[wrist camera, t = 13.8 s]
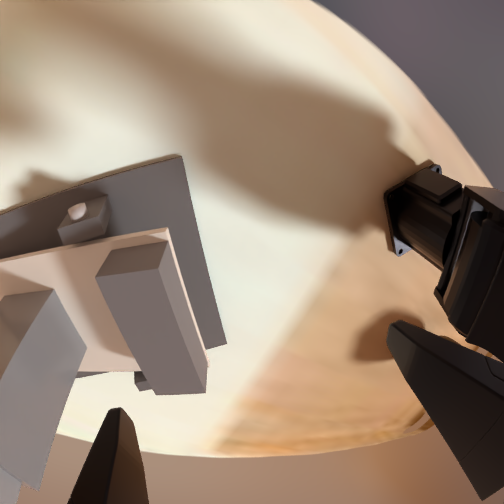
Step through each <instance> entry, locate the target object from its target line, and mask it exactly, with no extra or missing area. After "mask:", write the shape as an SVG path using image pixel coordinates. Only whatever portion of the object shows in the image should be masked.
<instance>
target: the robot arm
mask: <svg viewBox="0 0 504 504" xmlns="http://www.w3.org/2000/svg"><path fill="white" fill-rule="evenodd" d="M390 195H391V197H390V198H389V196H390ZM384 202H385V207H386V212H387V217H388V222H389V227H390V233H391V238H392V244H393V250H394V254H396V255H397V256H402V255H403V254H405V253H406V252H408V251H409V250H411V249H413V250H414V251H416V252H417V253H418V254H420V255H421V256H422V257H424V258H425V259H426V260H428V261H429V262H430V263H431V264H433V265H434V266H435V267H437V268H438V269H439V270H440V271H442V274H441V277H440V280H439V282H438V285H437V286H436V288H435V290H434V295H435V297H436V298H437V300H438V301H439V303H440V305H441V306H442V308H443V310H444V311H445V313H446V315H447V316H448V320H449V322H450V323H451V324H452V325H453V326H454V328H455V329H456V330H457V331H458V333H459V334H461V335H462V336H464V337H465V338H466V339H465V341H466V342H467V343H470V344H474V345H477V346H479V347H481V348H483V349H485V350H487V351H489V352H490V353H492V354H493V355H494V356H496V357H497V358H498V359H500V360H501V361H502V362H503V363H502V362H499V361H497V360H494V359H492V358H490V357H487V356H484V355H482V354H480V353H478V352H475V351H473V350H471V349H468V348H466V347H464V346H461V345H459V344H457V343H454V342H452V341H449V340H447V339H445V338H442V337H440V336H438V335H435V334H433V333H431V332H428V331H426V330H424V329H421V328H419V327H417V326H414V325H412V324H410V323H407V322H405V321H403V320H397V321H395V322H393V323H391V324H390V325H389V329H388V334H387V339H386V342H387V346H388V348H389V350H390V352H391V354H392V355H393V357H394V359H395V361H396V363H397V365H398V367H399V369H400V371H401V372H402V374H403V376H404V378H405V380H406V381H407V383H408V384H409V386H410V387H411V389H412V390H413V392H414V393H415V395H416V396H417V398H418V399H419V401H420V402H421V404H422V405H423V407H424V408H425V410H426V411H427V413H428V415H429V416H430V418H431V419H432V421H433V422H434V424H435V425H436V427H437V428H438V430H439V432H440V433H441V435H442V436H443V438H444V439H445V441H446V442H447V444H448V446H449V447H450V449H451V450H452V452H453V454H454V455H455V457H456V459H457V460H458V462H459V464H460V465H461V467H462V469H463V470H464V472H465V474H466V475H467V477H468V479H469V480H470V482H471V484H472V485H473V487H474V489H475V491H476V492H477V494H478V496H479V497H480V499H481V500H482V501H483V500H485V499H486V498H488V497H489V496H491V495H492V494H493V493H495V492H497V491H498V490H500V489H501V488H503V487H504V192H503V191H500V190H498V189H495V188H487V187H477V186H467V185H465V187H464V188H462V184H461V183H459V182H458V181H455V180H453V179H451V178H449V177H446V176H444V175H442V170H441V166H440V165H437V164H433V165H431V166H430V167H428V168H425V169H423V170H421V171H419V172H417V173H416V174H414V175H412V176H410V177H409V178H407V179H406V180H405V181H403V182H401V183H399V184H398V185H396V186H394V187H392V188H390V189H389V190H387V191H386V192H385V193H384ZM67 504H149V500H148V494H147V488H146V480H145V473H144V466H143V462H142V458H141V454H140V449H139V445H138V440H137V436H136V431H135V426H134V423H133V421H132V420H131V418H130V417H129V416H128V415H127V413H126V412H125V411H124V410H123V409H122V408H121V407H119V408H113V409H110V410H109V411H108V413H107V415H106V417H105V419H104V421H103V423H102V426H101V428H100V430H99V432H98V434H97V436H96V439H95V441H94V443H93V445H92V447H91V450H90V452H89V454H88V456H87V459H86V461H85V463H84V465H83V468H82V470H81V472H80V475H79V477H78V479H77V482H76V484H75V486H74V489H73V491H72V494H71V498H70V499H69V501H68V503H67Z"/></svg>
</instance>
